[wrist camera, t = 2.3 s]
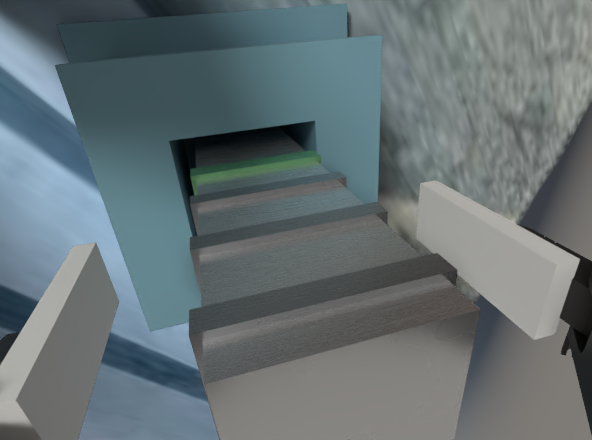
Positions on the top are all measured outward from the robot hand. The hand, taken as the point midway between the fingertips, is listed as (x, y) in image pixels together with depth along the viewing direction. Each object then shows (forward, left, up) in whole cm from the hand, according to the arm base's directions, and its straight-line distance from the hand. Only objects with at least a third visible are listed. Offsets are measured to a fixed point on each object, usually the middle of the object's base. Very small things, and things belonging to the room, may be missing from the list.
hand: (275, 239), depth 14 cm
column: (0, 0, -14) cm, 14 cm away
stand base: (0, 0, -15) cm, 15 cm away
